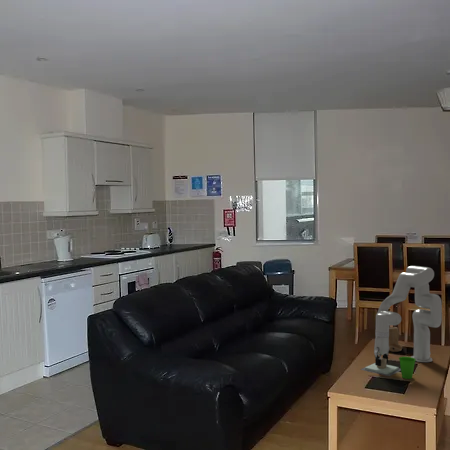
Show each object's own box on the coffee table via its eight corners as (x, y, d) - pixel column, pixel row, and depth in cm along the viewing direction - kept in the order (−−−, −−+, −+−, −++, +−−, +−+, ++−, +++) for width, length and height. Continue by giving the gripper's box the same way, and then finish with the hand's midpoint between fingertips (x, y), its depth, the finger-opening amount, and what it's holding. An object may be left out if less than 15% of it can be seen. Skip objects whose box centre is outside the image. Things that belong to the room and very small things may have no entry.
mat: (374, 364, 321) (374, 363, 320) (403, 370, 308) (403, 369, 308) (360, 370, 307) (360, 369, 307) (389, 377, 295) (389, 376, 295)
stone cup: (385, 345, 364) (385, 324, 364) (403, 347, 359) (403, 326, 359) (382, 351, 350) (382, 328, 350) (401, 353, 345) (401, 330, 345)
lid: (376, 364, 318) (376, 354, 318) (398, 369, 308) (398, 358, 308) (364, 369, 307) (365, 358, 307) (387, 374, 298) (387, 363, 298)
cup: (416, 381, 288) (417, 361, 288) (399, 380, 290) (399, 360, 290) (414, 376, 297) (414, 357, 297) (397, 375, 299) (397, 356, 298)
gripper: (383, 331, 316) (382, 359, 317) (369, 335, 303) (368, 365, 304) (394, 333, 311) (394, 362, 311) (381, 338, 298) (380, 368, 299)
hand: (381, 363), depth 308 cm, fingers open, 8 cm apart
